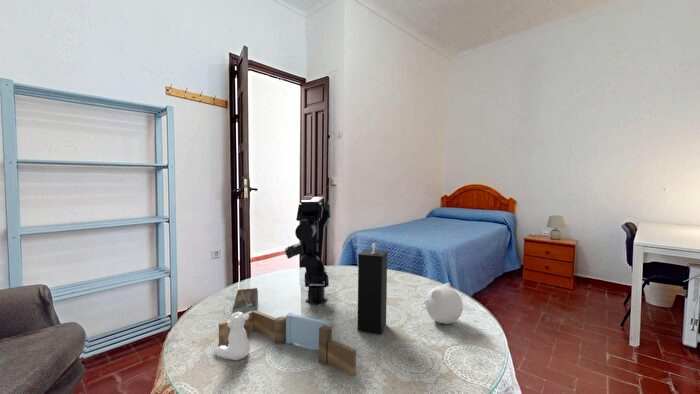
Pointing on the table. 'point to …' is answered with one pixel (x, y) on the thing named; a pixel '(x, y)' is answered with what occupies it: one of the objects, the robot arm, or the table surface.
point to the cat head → (443, 304)
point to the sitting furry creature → (235, 339)
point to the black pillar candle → (372, 290)
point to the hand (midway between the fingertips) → (309, 280)
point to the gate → (303, 330)
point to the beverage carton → (246, 300)
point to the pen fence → (276, 330)
